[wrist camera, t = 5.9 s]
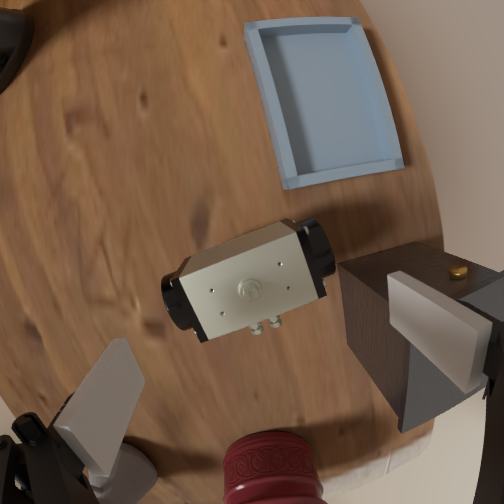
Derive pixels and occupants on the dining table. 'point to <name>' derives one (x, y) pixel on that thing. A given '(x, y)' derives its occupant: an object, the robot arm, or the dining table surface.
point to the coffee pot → (125, 478)
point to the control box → (393, 342)
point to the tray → (322, 99)
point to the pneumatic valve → (250, 279)
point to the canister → (271, 471)
